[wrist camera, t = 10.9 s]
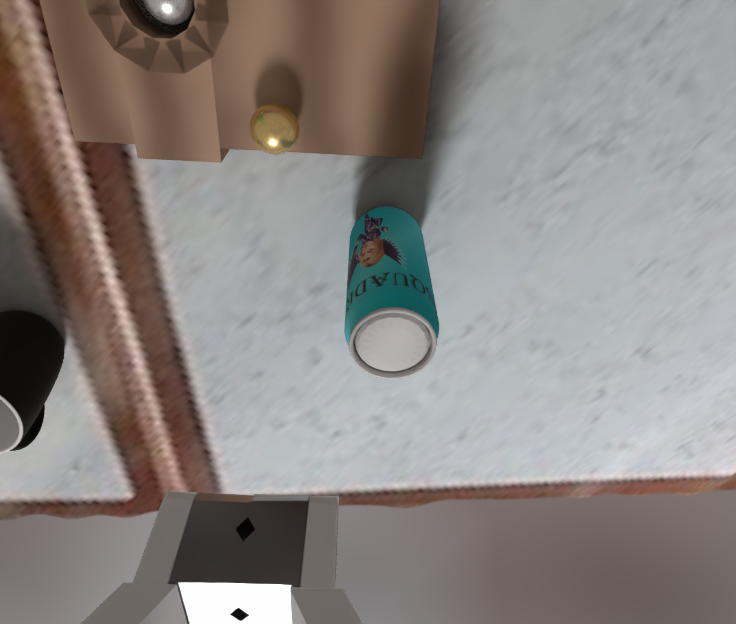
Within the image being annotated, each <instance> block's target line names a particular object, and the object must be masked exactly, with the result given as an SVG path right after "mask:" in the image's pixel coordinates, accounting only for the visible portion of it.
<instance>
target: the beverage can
mask: <svg viewBox="0 0 736 624" xmlns="http://www.w3.org/2000/svg"><path fill="white" fill-rule="evenodd" d="M438 334H439V321H438V316H437V311H436V305H435V300H434V294H433V289H432V283H431V278H430V273H429V267H428V262H427V256H426V251H425V245H424V240H423V235H422V231H421V228H420V226H419V224H418V223H417V221H416V220H415V219H414V218H413V217H412V216H411V215H409V214H408V213H406V212H405V211H403V210H401V209H398V208H396V207H392V206H381V207H377V208H374V209H372V210H370V211H368V212H367V213H366V214H364V215H363V216H362V217H361V218H360V219H359V220H358V221H357V222H356V224H355V225H354V227H353V229H352V231H351V235H350V246H349V263H348V281H347V298H346V315H345V337H346V340H347V343H348V345H349V350H350V353H351V356H352V358H353V360H354V362H355V363H356V364H357V365H358V366H359V367H360V368H361V369H362V370H364V371H365V372H367V373H369V374H371V375H373V376H377V377H380V378H387V379H396V378H403V377H407V376H410V375H413V374H415V373H417V372H419V371H420V370H422V369H423V368H424V367H425V366H426V365H427V364H428V363H429V362H430V361H431V359H432V358H433V356H434V353H435V351H436V345H437V338H438Z"/></svg>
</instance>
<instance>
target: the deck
mask: <svg viewBox="0 0 736 624" xmlns="http://www.w3.org/2000/svg"><path fill="white" fill-rule="evenodd" d="M439 3H440V0H194V6H195V12H194V14H193V17H192V19H191V21H190V24H189V26H188V29H187V30H185V31H183V32H182V33H175V32H164V31H162V30H161V29H159V28H158V27H156V26H154V25H153V24H151V23H150V22H148V21H147V20H146V19H145V17H144V16H143V14H142V13H141V11H140V10H139V8H138V7H137V5H136V3H135V2H134V0H40V4H41V8H42V12H43V16H44V20H45V24H46V28H47V32H48V36H49V40H50V44H51V48H52V52H53V56H54V59H55V63H56V67H57V71H58V75H59V79H60V83H61V87H62V91H63V95H64V99H65V103H66V107H67V111H68V115H69V119H70V123H71V127H72V131H73V135H74V139H75V141H86V142H106V143H125V144H135V145H136V150H137V156H138V158H143V159H163V160H183V161H203V162H222V161H223V159H224V157H225V156H226V154H227V153H228V151H229V149H242V150H261V149H260V148H258V147H257V145H256V144H255V143H254V141H253V140H252V137H251V134H250V121H251V118H252V115H253V114H254V112H255V111H256V110H257V109H258V108H259V107H261V106H262V105H264V104H267V103H279V104H282V105H284V106H286V107H288V108H289V109H290V110H291V111H292V112H293V113H294V114H295V116H296V118H297V120H298V123H299V137H298V140H297V142H296V144H295V145H294V146H293V148H292V149H290V150H289V151H287V152H300V153H320V154H339V155H359V156H378V157H398V158H417V159H422V156H423V147H424V138H425V129H426V120H427V111H428V102H429V93H430V84H431V75H432V66H433V57H434V48H435V39H436V30H437V21H438V12H439Z"/></svg>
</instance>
